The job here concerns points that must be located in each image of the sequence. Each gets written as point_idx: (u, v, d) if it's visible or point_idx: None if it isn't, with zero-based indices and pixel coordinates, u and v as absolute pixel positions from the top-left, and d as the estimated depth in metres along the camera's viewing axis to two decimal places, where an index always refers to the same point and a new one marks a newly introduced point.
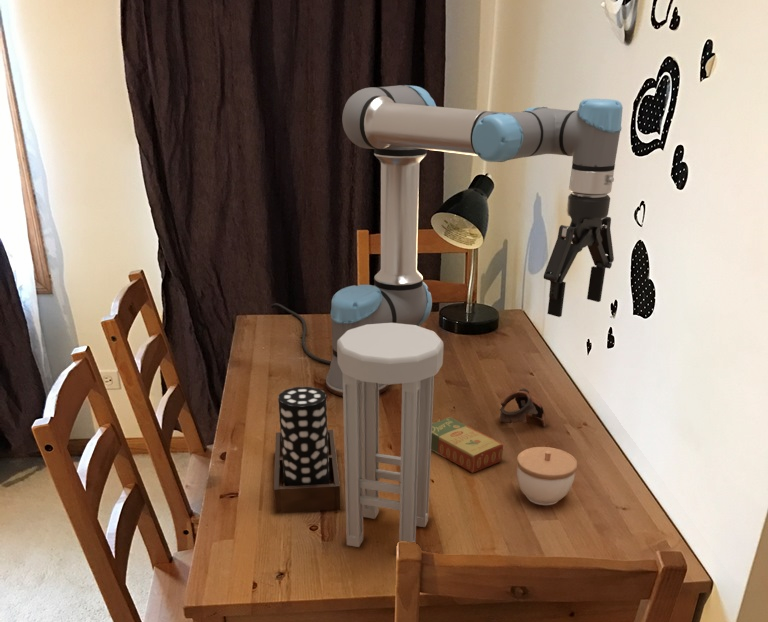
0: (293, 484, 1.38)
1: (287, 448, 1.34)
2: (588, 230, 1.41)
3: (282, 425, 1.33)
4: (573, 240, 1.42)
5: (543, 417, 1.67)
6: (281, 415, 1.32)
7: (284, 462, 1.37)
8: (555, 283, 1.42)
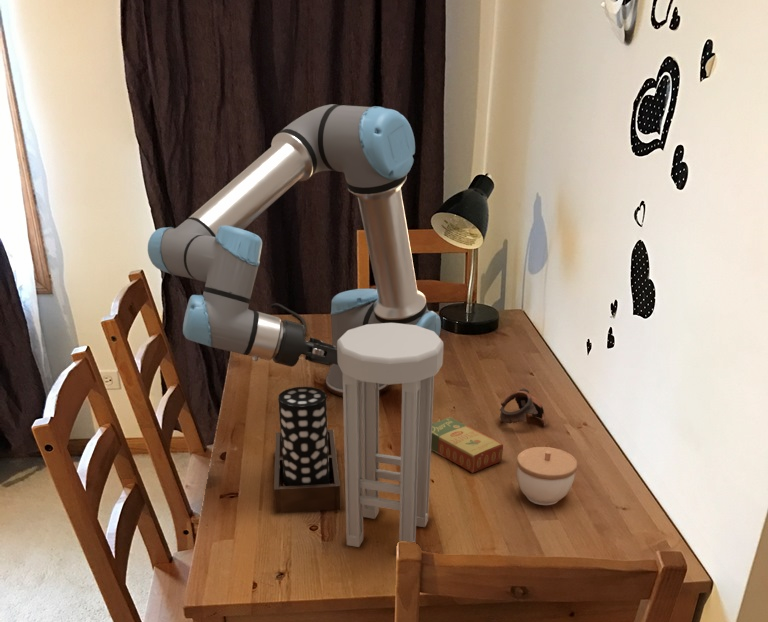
0: (293, 484, 1.38)
1: (287, 448, 1.34)
2: None
3: (282, 425, 1.33)
4: None
5: (543, 417, 1.67)
6: (281, 415, 1.32)
7: (284, 462, 1.37)
8: None
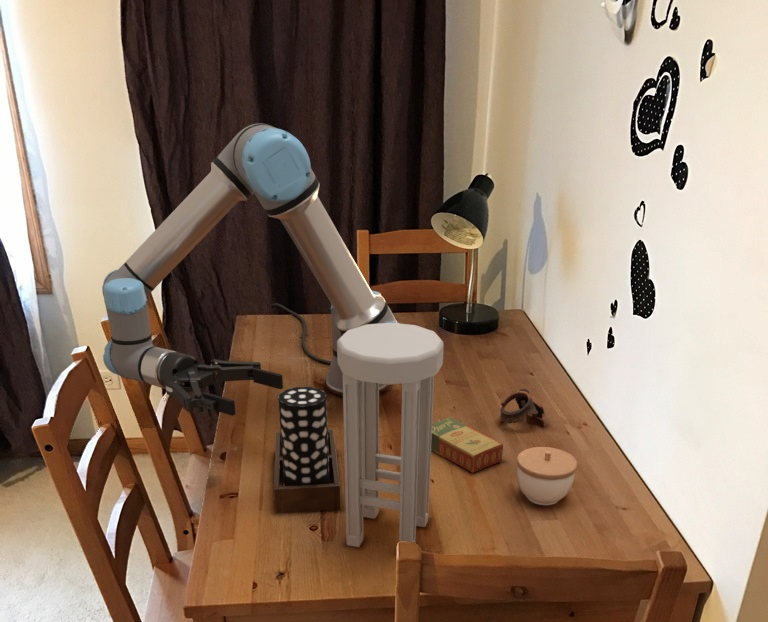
0: (293, 484, 1.38)
1: (287, 448, 1.34)
2: None
3: (282, 425, 1.33)
4: None
5: (543, 417, 1.67)
6: (281, 415, 1.32)
7: (284, 462, 1.37)
8: None
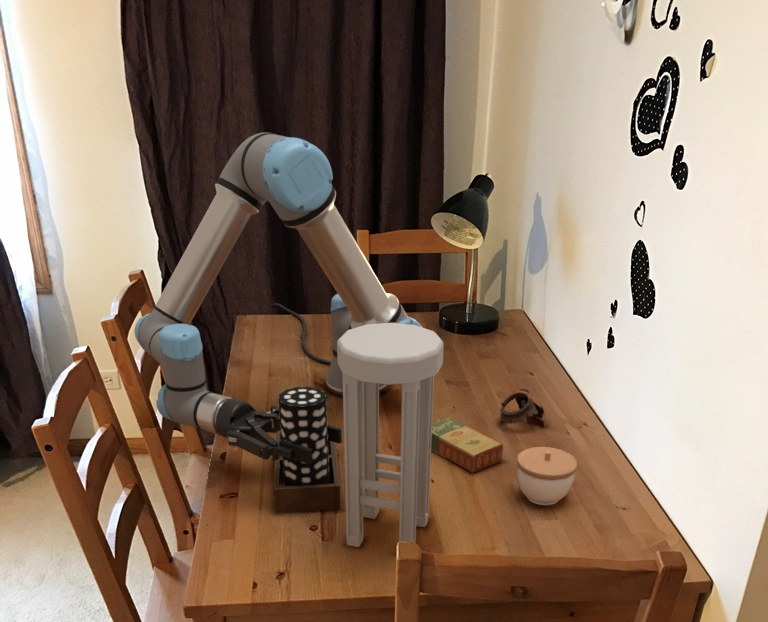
0: (293, 484, 1.38)
1: None
2: None
3: (282, 425, 1.33)
4: None
5: (543, 417, 1.67)
6: (281, 415, 1.32)
7: (284, 462, 1.37)
8: None
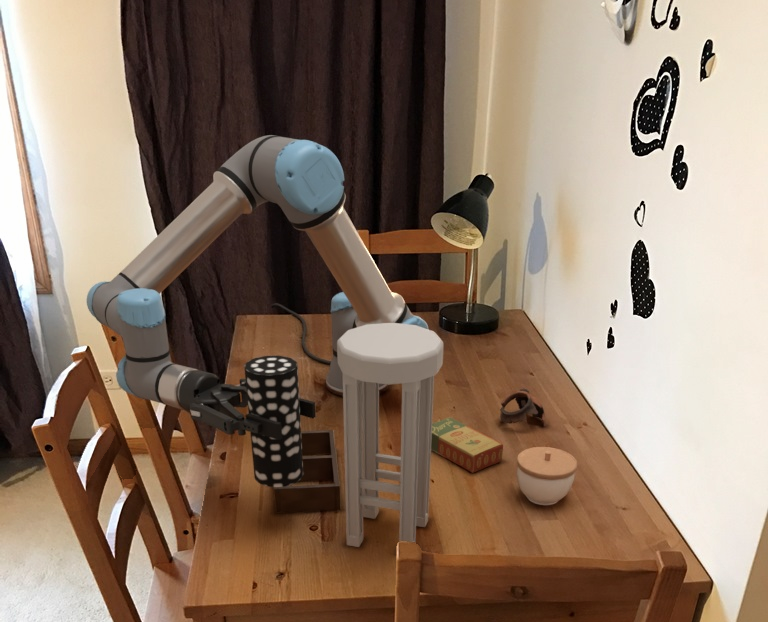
0: (262, 462, 1.25)
1: None
2: None
3: (249, 397, 1.21)
4: None
5: (543, 417, 1.67)
6: (247, 385, 1.20)
7: (252, 438, 1.25)
8: None
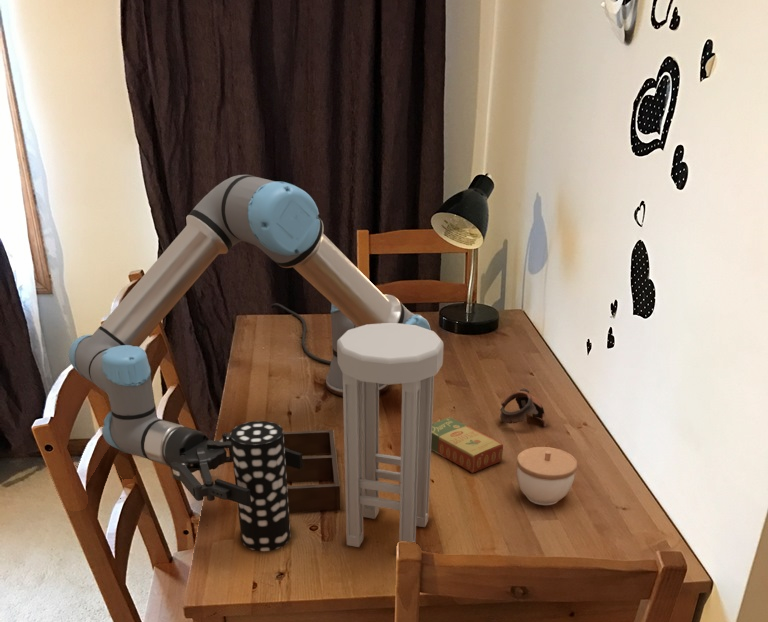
0: (248, 527, 1.25)
1: None
2: None
3: (235, 464, 1.21)
4: None
5: (543, 417, 1.67)
6: (233, 453, 1.20)
7: (238, 503, 1.25)
8: None
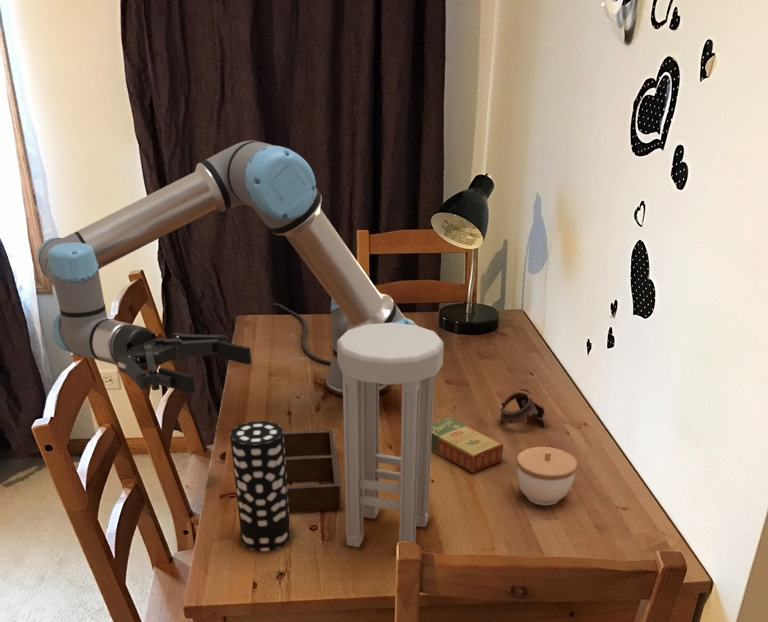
0: (248, 527, 1.25)
1: (241, 489, 1.22)
2: None
3: (235, 464, 1.21)
4: None
5: (543, 417, 1.67)
6: (233, 453, 1.20)
7: (238, 503, 1.25)
8: None
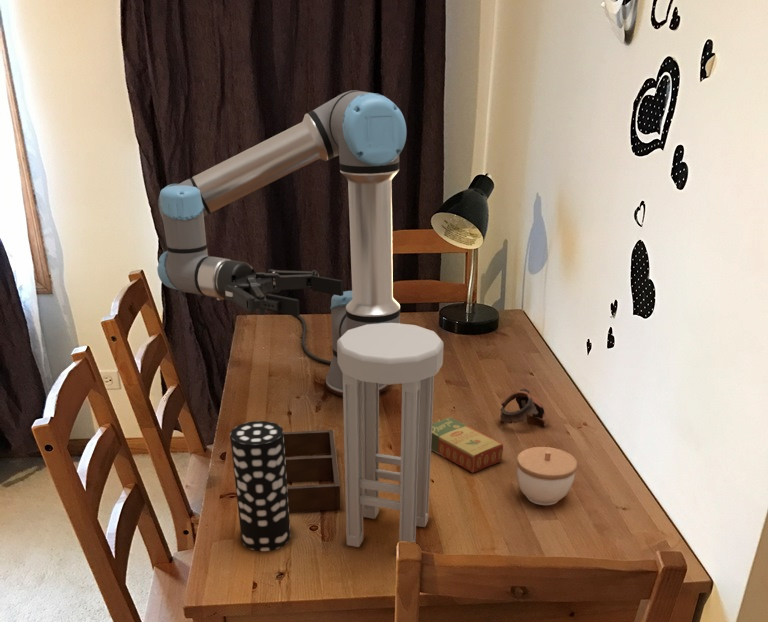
0: (248, 527, 1.25)
1: (241, 489, 1.22)
2: None
3: (235, 464, 1.21)
4: None
5: (544, 417, 1.67)
6: (233, 453, 1.20)
7: (238, 503, 1.25)
8: None
